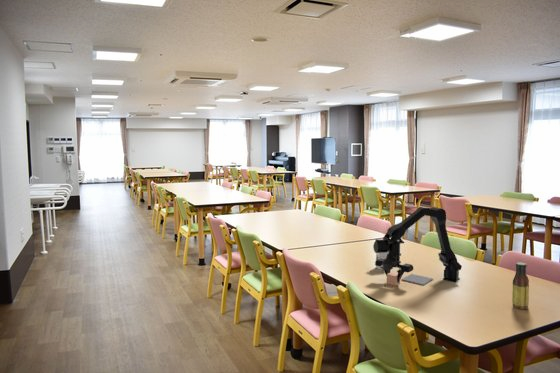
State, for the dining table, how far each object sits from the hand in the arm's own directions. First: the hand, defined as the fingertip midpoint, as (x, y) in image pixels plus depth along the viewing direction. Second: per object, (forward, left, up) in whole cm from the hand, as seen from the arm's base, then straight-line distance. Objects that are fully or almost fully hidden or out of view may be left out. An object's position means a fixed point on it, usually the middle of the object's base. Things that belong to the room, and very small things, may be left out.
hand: (393, 281), depth 212 cm
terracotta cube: (0, 0, -1) cm, 1 cm away
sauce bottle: (-56, -8, -1) cm, 57 cm away
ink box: (+16, -20, -1) cm, 26 cm away
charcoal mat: (-7, -13, -1) cm, 15 cm away
